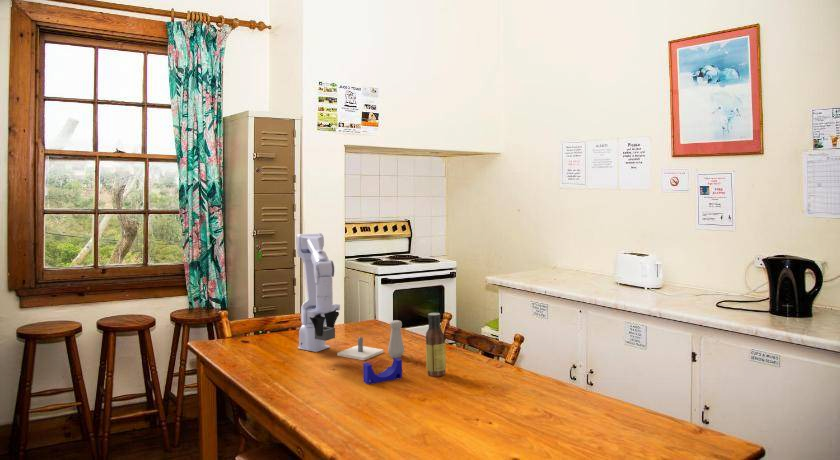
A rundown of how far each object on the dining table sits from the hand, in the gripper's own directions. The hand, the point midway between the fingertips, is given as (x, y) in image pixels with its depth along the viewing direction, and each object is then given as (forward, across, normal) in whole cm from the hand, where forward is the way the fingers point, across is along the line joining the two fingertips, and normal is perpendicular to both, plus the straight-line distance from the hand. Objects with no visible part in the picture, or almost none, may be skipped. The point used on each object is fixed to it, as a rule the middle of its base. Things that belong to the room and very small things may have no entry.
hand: (324, 333), depth 200 cm
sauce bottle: (+10, +7, -41) cm, 43 cm away
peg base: (+9, +13, -6) cm, 17 cm away
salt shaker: (+10, +17, -19) cm, 27 cm away
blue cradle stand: (+10, -6, -29) cm, 31 cm away
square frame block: (+2, 0, 0) cm, 2 cm away
